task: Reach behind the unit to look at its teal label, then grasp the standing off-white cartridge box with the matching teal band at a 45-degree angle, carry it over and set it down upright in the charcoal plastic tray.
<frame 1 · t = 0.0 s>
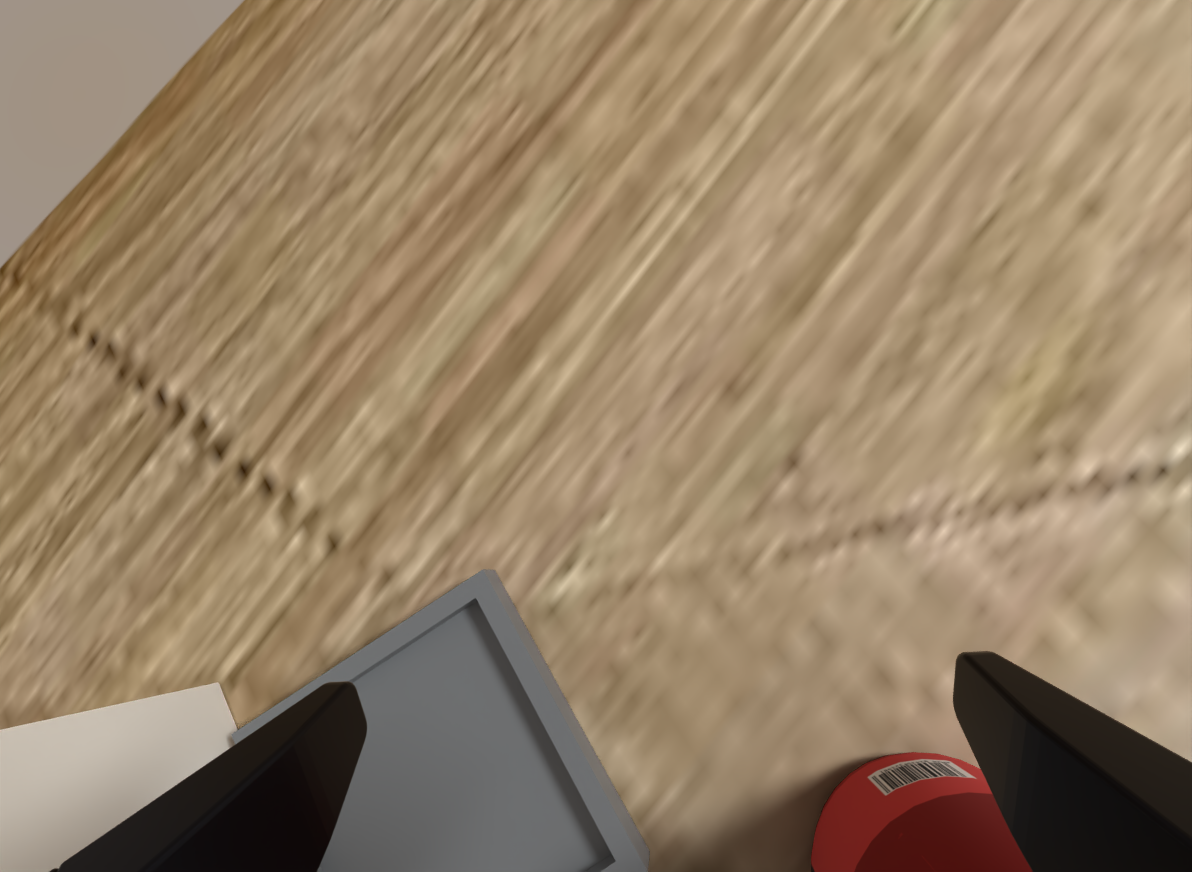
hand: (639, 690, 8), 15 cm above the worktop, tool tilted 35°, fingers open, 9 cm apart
cartridge: (190, 761, 24), on the worktop
canned food: (919, 864, 20), on the worktop
tray: (440, 783, 22), on the worktop
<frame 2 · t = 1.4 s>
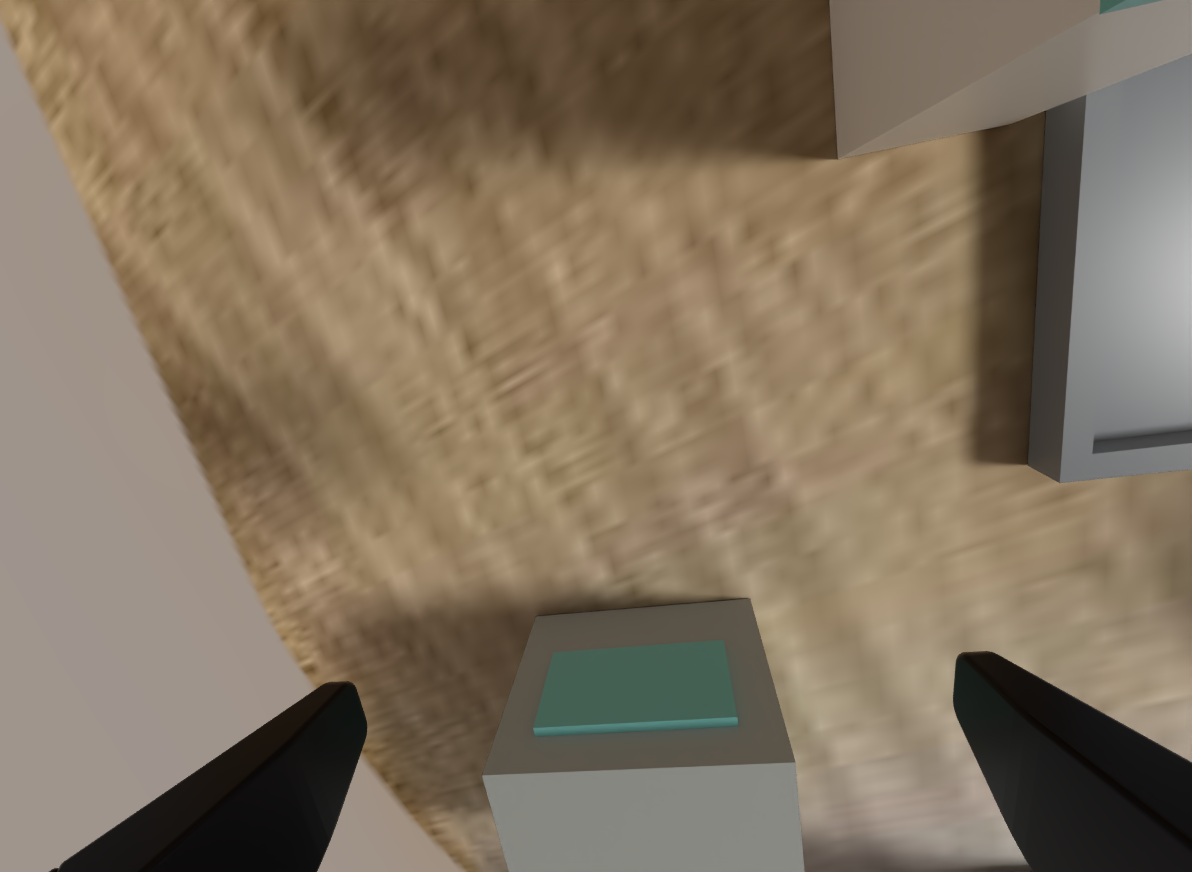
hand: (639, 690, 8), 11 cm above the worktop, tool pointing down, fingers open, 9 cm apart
cartridge: (920, 50, 15), on the worktop
unit: (657, 716, 22), on the worktop
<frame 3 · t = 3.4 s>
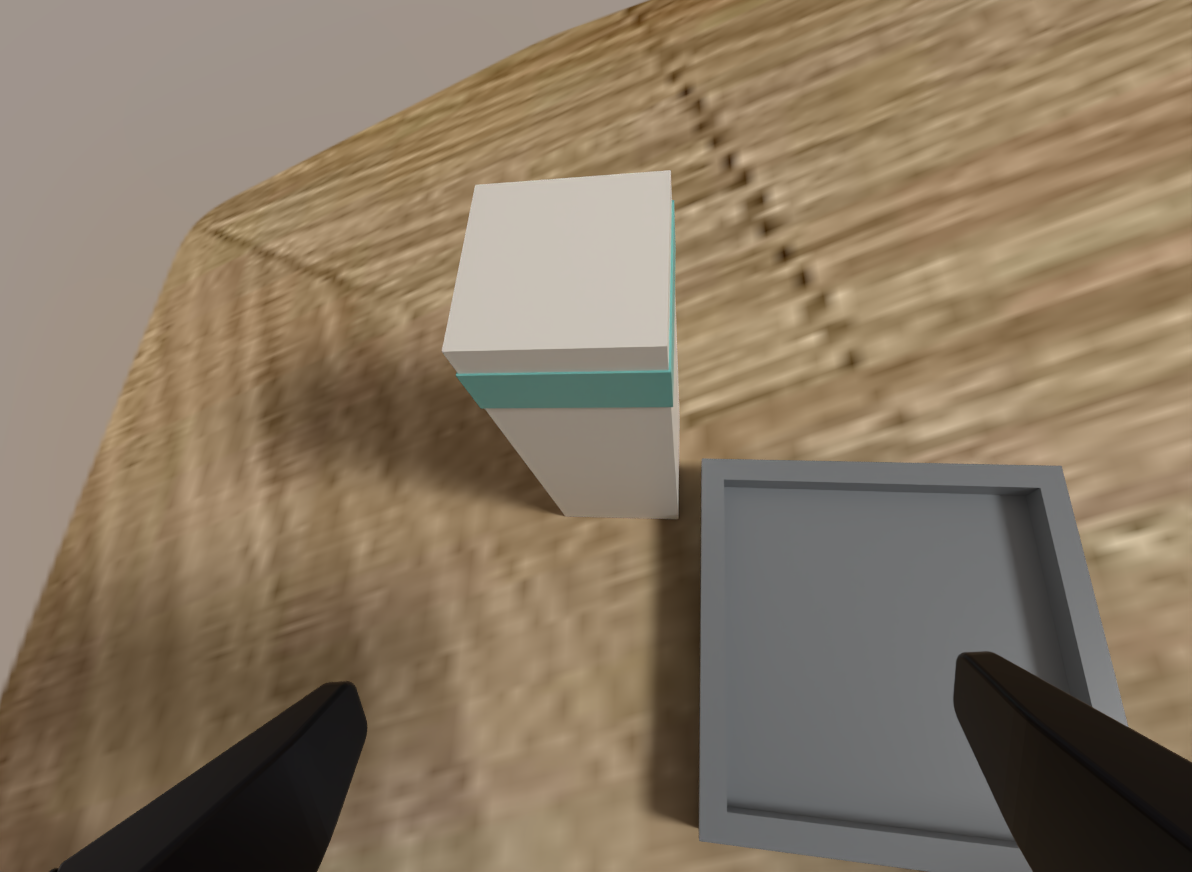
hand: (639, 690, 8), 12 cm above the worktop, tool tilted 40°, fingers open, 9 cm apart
cartridge: (623, 464, 23), on the worktop
tray: (879, 642, 19), on the worktop
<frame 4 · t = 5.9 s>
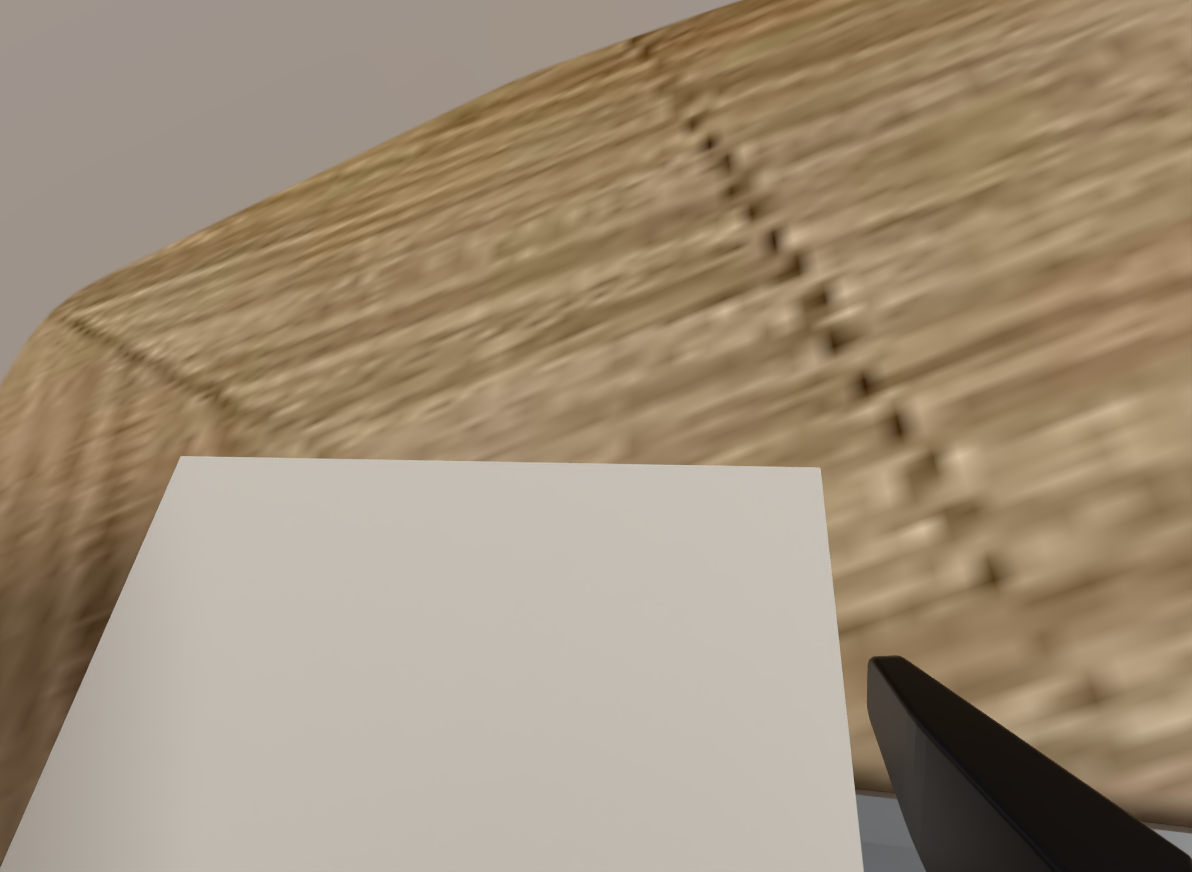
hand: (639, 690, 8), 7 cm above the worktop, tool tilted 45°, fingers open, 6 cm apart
cartridge: (620, 750, 14), on the worktop, touching gripper
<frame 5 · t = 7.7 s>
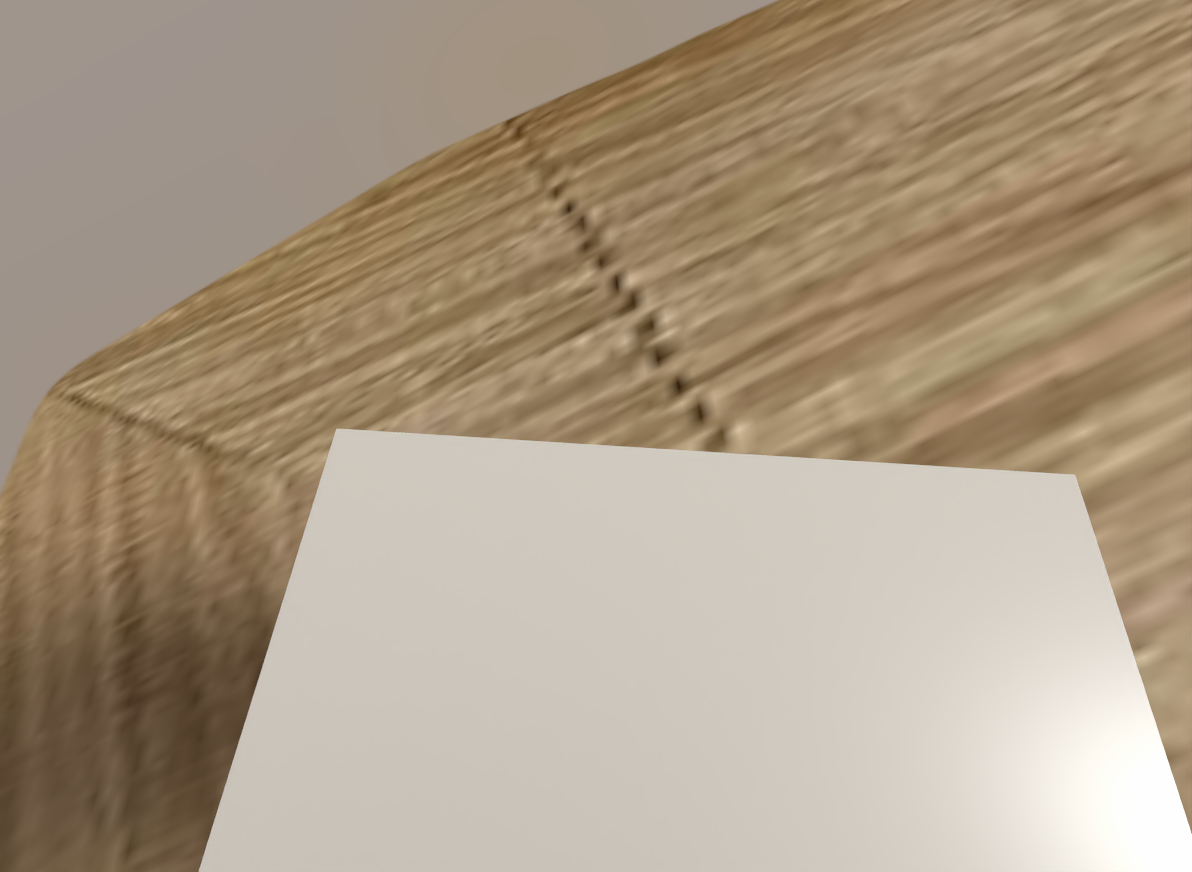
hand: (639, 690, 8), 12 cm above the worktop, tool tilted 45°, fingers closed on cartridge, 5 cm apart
cartridge: (620, 750, 14), point 6 cm above the worktop, tilted 8°, touching gripper
when the fingers open (9 cm above the worktop, at t = 9.2 s): cartridge drops 2 cm, resting on tray.
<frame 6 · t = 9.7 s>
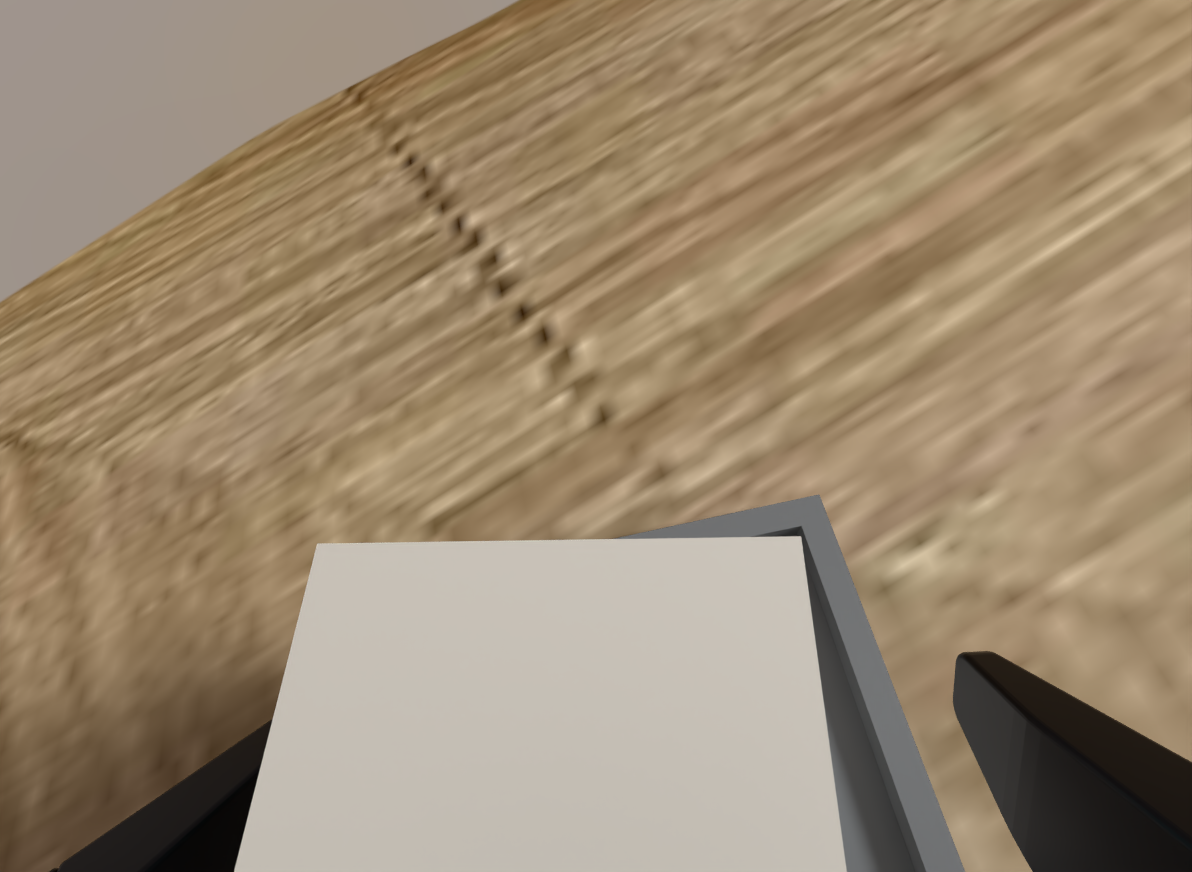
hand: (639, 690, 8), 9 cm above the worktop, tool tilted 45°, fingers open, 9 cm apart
cartridge: (647, 751, 15), point 1 cm above the worktop, touching tray
tray: (668, 759, 16), on the worktop
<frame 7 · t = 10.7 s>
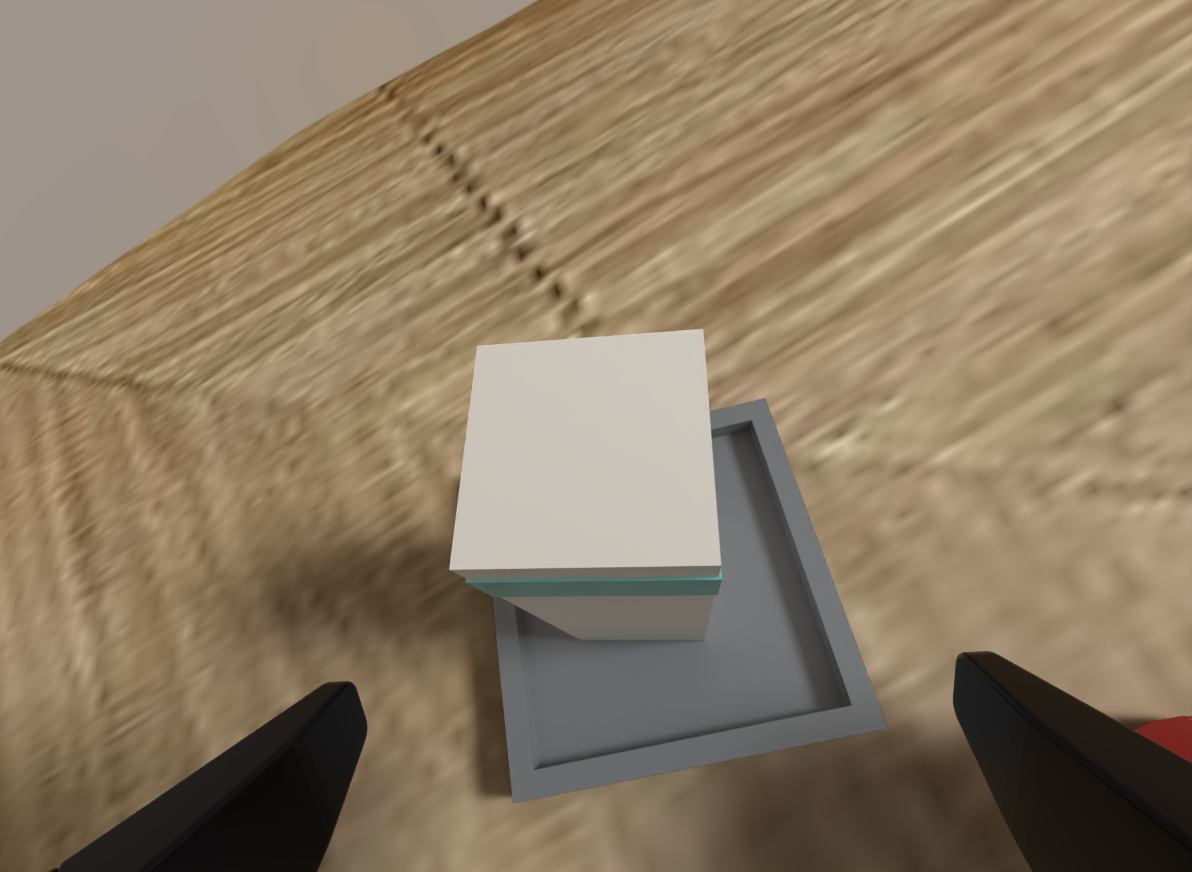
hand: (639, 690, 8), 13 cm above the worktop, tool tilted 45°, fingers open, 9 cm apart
cartridge: (640, 577, 21), point 1 cm above the worktop, touching tray
tray: (655, 585, 22), on the worktop
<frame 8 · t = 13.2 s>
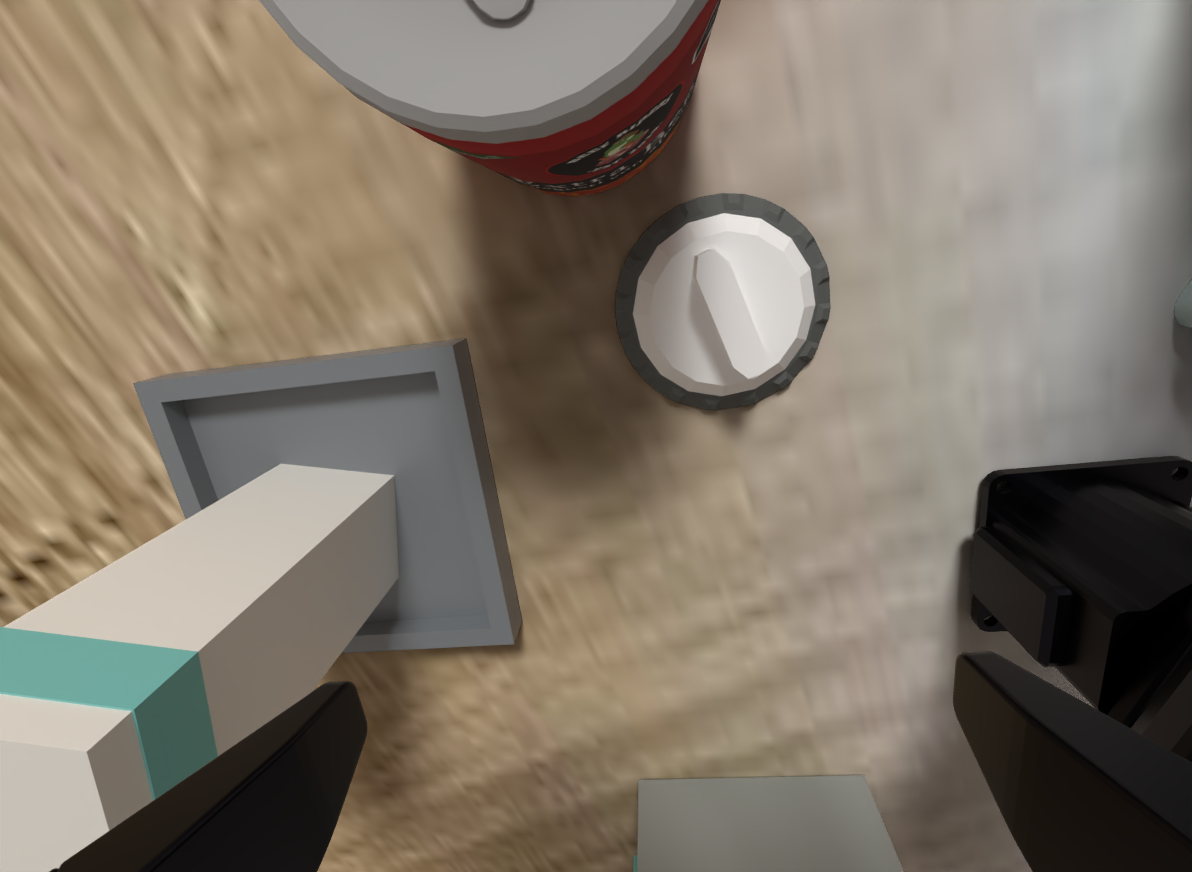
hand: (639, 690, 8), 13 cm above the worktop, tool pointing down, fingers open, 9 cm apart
cartridge: (341, 521, 22), point 1 cm above the worktop, touching tray
canned food: (572, 60, 17), on the worktop
unit: (752, 841, 27), on the worktop
stove knob: (718, 305, 20), on the worktop
tray: (352, 503, 23), on the worktop
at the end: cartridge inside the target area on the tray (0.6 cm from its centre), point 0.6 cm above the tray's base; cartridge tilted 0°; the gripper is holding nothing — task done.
